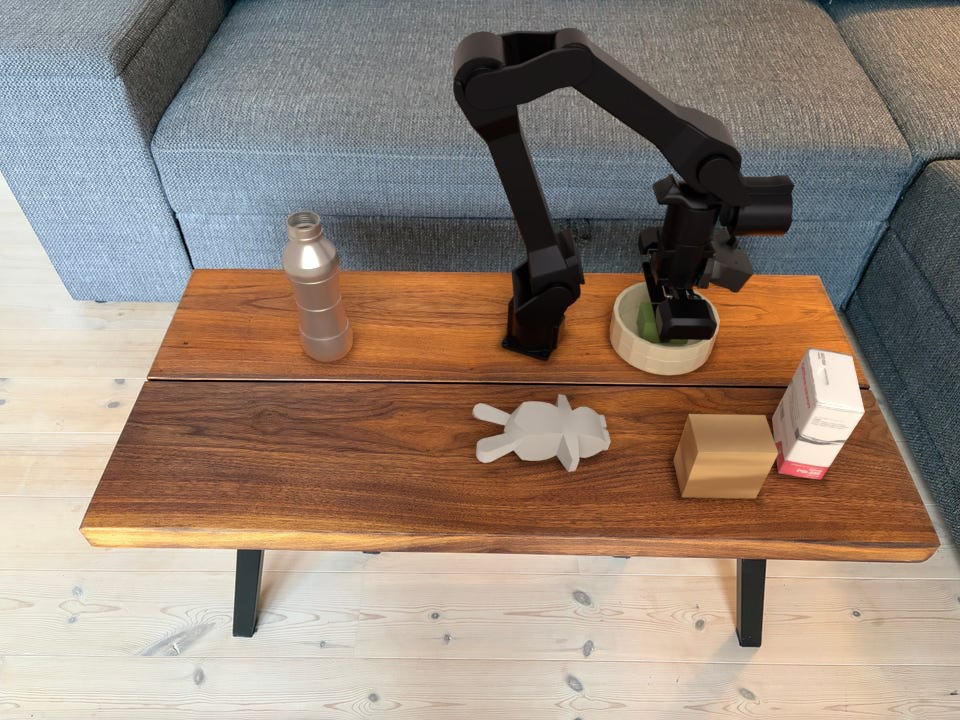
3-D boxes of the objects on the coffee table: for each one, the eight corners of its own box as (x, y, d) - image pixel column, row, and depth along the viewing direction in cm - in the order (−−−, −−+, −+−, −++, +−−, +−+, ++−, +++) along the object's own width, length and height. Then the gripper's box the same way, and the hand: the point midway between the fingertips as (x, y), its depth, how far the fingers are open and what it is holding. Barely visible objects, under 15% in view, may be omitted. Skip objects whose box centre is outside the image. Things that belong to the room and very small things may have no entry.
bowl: (721, 376, 90) (730, 350, 87) (615, 374, 90) (621, 349, 87) (699, 306, 99) (707, 281, 96) (604, 305, 99) (608, 279, 96)
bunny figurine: (620, 453, 76) (480, 451, 74) (608, 481, 80) (474, 480, 78) (602, 387, 83) (473, 383, 81) (591, 416, 86) (468, 413, 84)
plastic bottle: (341, 374, 89) (317, 242, 75) (293, 361, 91) (260, 230, 77) (364, 340, 94) (344, 210, 79) (317, 328, 95) (290, 198, 81)
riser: (755, 498, 77) (778, 453, 71) (681, 497, 77) (698, 452, 71) (744, 460, 81) (765, 414, 75) (673, 459, 81) (688, 413, 75)
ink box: (824, 482, 79) (867, 412, 70) (777, 474, 79) (813, 404, 71) (815, 423, 85) (853, 351, 76) (770, 416, 85) (803, 344, 77)
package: (687, 343, 92) (693, 323, 90) (640, 343, 92) (645, 323, 90) (681, 322, 95) (687, 302, 93) (636, 322, 95) (640, 302, 93)
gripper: (780, 284, 76) (740, 384, 87) (737, 188, 89) (708, 286, 100) (675, 282, 76) (648, 383, 87) (648, 187, 89) (628, 284, 100)
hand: (661, 330), depth 93 cm, fingers closed on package, 4 cm apart
